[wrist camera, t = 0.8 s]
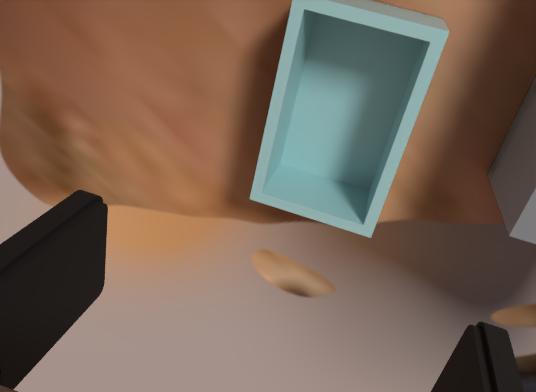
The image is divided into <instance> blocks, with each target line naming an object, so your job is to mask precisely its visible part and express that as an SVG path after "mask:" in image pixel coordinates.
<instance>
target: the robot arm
mask: <svg viewBox="0 0 536 392" xmlns="http://www.w3.org/2000/svg"><path fill="white" fill-rule="evenodd" d="M107 212H108V207H107V205H106V204H105V203H103V199H102V197H100V196H98V195H95V194H92V193H89V192H86V191H83V190H78V191H76V192H74V193H73V194H71V195H70V196H69V197H67V198H66V199H64V200H63V201H61V202H60V203H59V204H57V205H56V206H54V207H53V208H51V209H50V210H49V211H47V212H46V213H44V214H43V215H42V216H40V217H39V218H37V219H36V220H34V221H33V222H32V223H30V224H29V225H27V226H26V227H24V228H23V229H21V230H20V231H19V232H17V233H16V234H14V235H13V236H12V237H10V238H9V239H7V240H6V241H4V242H3V243H2V244H0V392H18V391H15V390H13V389H14V388H15V387H16V386H17V385H18V384H19V383H20V382H21V381H22V380H23V378H24V377H25V376H26V375H27V374H28V373H29V372H30V371H31V370H32V369H33V367H34V366H35V365H36V364H37V363H38V362H39V361H40V360H41V359H42V358H43V357H44V356H45V354H46V353H47V352H48V351H49V350H50V349H51V348H52V347H53V346H54V344H55V343H56V342H57V341H58V340H59V339H60V338H61V337H62V336H63V335H64V334H65V332H67V330H68V329H69V328H70V327H71V326H72V325H73V324H74V323H75V321H77V319H78V318H79V317H80V316H81V315H82V314H83V313H84V312H85V311H86V310H87V309H88V307H89V306H90V305H91V304H92V303H93V302H94V301H95V300H96V299H97V298H98V296H99V295H100V294H101V292H102V290H103V286H104V280H105V258H106V234H107ZM431 392H524V390H523V386H522V383H521V379H520V375H519V372H518V368H517V364H516V360H515V357H514V353H513V349H512V346H511V342H510V338H509V335H508V332H507V331H506V330H505V329H503V328H499V327H496V326H493V325H490V324H487V323H484V322H479V323H478V324H477V325H476V326H474V325H469V326H468V327H467V328H466V330H465V332H464V334H463V335H462V337H461V339H460V341H459V342H458V344H457V346H456V348H455V349H454V351H453V353H452V355H451V357H450V359H449V360H448V362H447V364H446V366H445V367H444V369H443V371H442V373H441V374H440V376H439V378H438V380H437V382H436V383H435V385H434V387H433V389H432V391H431Z"/></svg>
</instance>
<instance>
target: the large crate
mask: <svg viewBox="0 0 536 392" xmlns="http://www.w3.org/2000/svg"><path fill="white" fill-rule="evenodd" d="M487 176H488V179H489V182H490V184H491V187H492V190H493V193H494V196H495V198H496V201H497V204H498V207H499V210H500V212H501V215H502V218H503V221H504V224H505V226H506V229H507V232H508V235H509V236H511V237H514V238H517V239H520V240H524V241H527V242H530V243H533V244H536V76H535V78H534V80H533V82H532V84H531V86H530V89H529V91H528V93H527V95H526V97H525V99H524V101H523V103H522V105H521V107H520V109H519V111H518V113H517V115H516V117H515V119H514V121H513V123H512V125H511V127H510V129H509V131H508V133H507V135H506V137H505V139H504V142H503V144H502V146H501V148H500V150H499V152H498V154H497V156H496V158H495V160H494V162H493V164H492V166H491V168H490V170H489V172H488V174H487Z"/></svg>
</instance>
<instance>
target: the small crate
mask: <svg viewBox="0 0 536 392" xmlns="http://www.w3.org/2000/svg"><path fill="white" fill-rule="evenodd" d="M448 34H449V30H448V28H447V26H446V24H445V22H444V20H443V18H439V17H435V16H431V15H427V14H423V13H419V12H415V11H411V10H407V9H403V8H399V7H395V6H391V5H388V4H384V3H380V2H376V1H372V0H293V1H292V5H291V10H290V15H289V19H288V24H287V28H286V33H285V38H284V42H283V47H282V51H281V56H280V61H279V65H278V70H277V75H276V79H275V84H274V88H273V93H272V98H271V102H270V107H269V112H268V116H267V121H266V125H265V130H264V135H263V139H262V144H261V149H260V153H259V158H258V162H257V167H256V172H255V176H254V181H253V185H252V190H251V195H250V200H254V201H257V202H260V203H263V204H266V205H269V206H272V207H276V208H279V209H282V210H285V211H288V212H291V213H294V214H298V215H301V216H304V217H307V218H310V219H313V220H316V221H319V222H323V223H326V224H329V225H332V226H335V227H338V228H341V229H345V230H348V231H351V232H354V233H357V234H360V235H363V236H367V237H370V238H371V236H372V234H373V231H374V228H375V226H376V223H377V220H378V218H379V215H380V213H381V210H382V207H383V205H384V202H385V199H386V197H387V194H388V192H389V189H390V186H391V184H392V181H393V179H394V176H395V173H396V171H397V168H398V165H399V163H400V160H401V158H402V155H403V152H404V150H405V147H406V144H407V142H408V139H409V137H410V134H411V131H412V129H413V126H414V123H415V121H416V118H417V116H418V113H419V110H420V108H421V105H422V103H423V100H424V97H425V95H426V92H427V89H428V87H429V84H430V82H431V79H432V76H433V74H434V71H435V68H436V66H437V63H438V61H439V58H440V55H441V53H442V50H443V48H444V45H445V42H446V40H447V37H448Z"/></svg>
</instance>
